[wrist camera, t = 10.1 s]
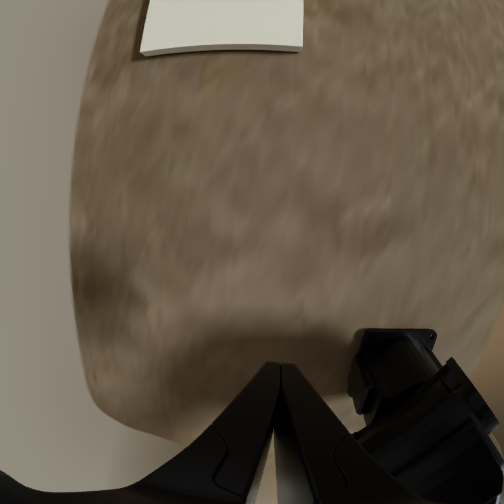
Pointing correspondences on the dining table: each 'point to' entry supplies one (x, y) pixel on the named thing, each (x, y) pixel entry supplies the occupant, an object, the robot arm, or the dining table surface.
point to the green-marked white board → (222, 26)
